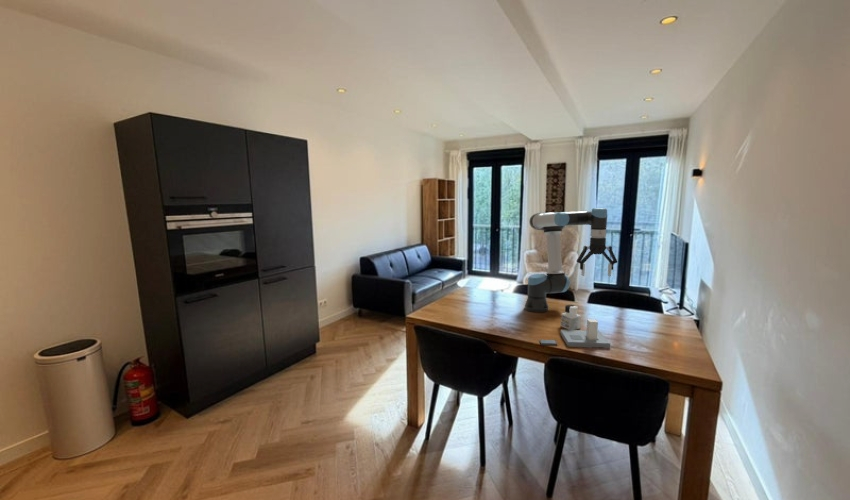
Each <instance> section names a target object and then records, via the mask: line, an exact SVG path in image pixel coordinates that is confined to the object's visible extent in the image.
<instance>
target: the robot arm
mask: <svg viewBox="0 0 850 500" xmlns="http://www.w3.org/2000/svg"><path fill="white" fill-rule="evenodd" d="M607 222H608V210H607V208H605V207H597V208H595V207H594V208H592V209H591V211H589V210H581V211H560V212H557V211H554V212H553V211H552V212H550V211H549V212H537V213H534V214H533V215H531V216H530V218H529V226H530V227H531V228H532V229H534V230H536V231H543V234H545V236H546V249H547V266H548V270H547V272H546V274H545V273H534V274H531V275H530V276H528V280H527V297H526V301H525V303H524V309H525V310H526V311H528V312H530V313H546V312H548V311H549V303H548V301H547V294H558V293H559V294H560V293H565V292H567V291H568V290H569V288H570V278H569V276H568V275H567V274H566V273H565V271H564V270H563V261H562V250H561V249H562V248H561V247H562V246H561V233H563V229H565V226H584V225H585V226H590V234H589V235H590V238H589V239H590V240H589V246H587V245H583V248H582V251H581V253H580V254H579V256H578V258H577V260H576V262H577V263H578V264H579V269H580V270H581V273H580V275H581V276H583V277H585V273H586V272H585V271H586V264H585V263H586V262H587V260H588V259H589V258H590V257H592V256H593V255H602V256H603V257H604V258H605V259H606V260H607V261H608V262H609V263H607V265H608V266H607V276H609V277H612V271H613V270H614V265H615V264H617V263H618V259H617V257H616V255H615V253H614V251H613V247H612V246H611V245H606V244H607V241H606V240H607V238H606V237H607V227H608V226H607V225H608V223H607ZM589 250H590V251H589ZM605 251H608V253H609V255H610V256H609V255H608V254H607V253H606V252H605ZM586 252H588V253H587V254H586ZM585 254H586V255H585Z"/></svg>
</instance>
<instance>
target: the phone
mask: <svg viewBox="0 0 850 500" xmlns="http://www.w3.org/2000/svg"><path fill="white" fill-rule="evenodd" d="M539 343H541V344H540V346H558V343H557V340H555V339H539Z"/></svg>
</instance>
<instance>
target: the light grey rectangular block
mask: <svg viewBox="0 0 850 500" xmlns="http://www.w3.org/2000/svg"><path fill="white" fill-rule="evenodd" d="M598 327H599V321H597V320H596V319H595V318H594V319H593V318H587V319H586V330H587V331H586V338H587V340H597V331H599V330H598Z"/></svg>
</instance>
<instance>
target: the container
mask: <svg viewBox="0 0 850 500" xmlns="http://www.w3.org/2000/svg"><path fill="white" fill-rule="evenodd" d="M578 307H579V306H577V305H575V304H567V305H565V307H564V312H562V313H561V314H560V326H561V327H562V328H565V330H580V329H581V328H582V315H580V314H578V312H579V311H578Z"/></svg>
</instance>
